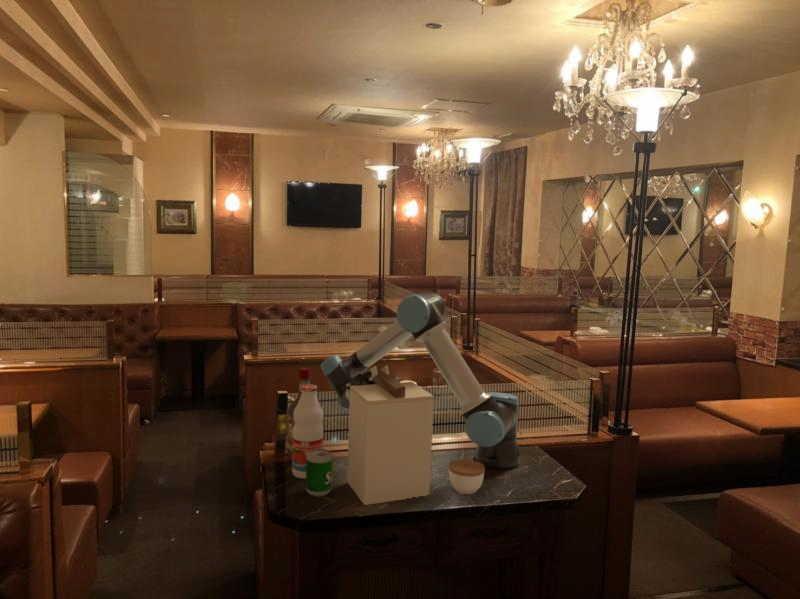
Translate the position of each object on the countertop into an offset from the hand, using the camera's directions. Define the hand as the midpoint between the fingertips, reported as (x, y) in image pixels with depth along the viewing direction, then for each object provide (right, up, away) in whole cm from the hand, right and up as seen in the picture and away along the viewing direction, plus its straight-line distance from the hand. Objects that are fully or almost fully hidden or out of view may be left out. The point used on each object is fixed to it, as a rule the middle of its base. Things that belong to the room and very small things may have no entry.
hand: (381, 370), depth 188 cm
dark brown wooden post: (+1, -5, -2) cm, 5 cm away
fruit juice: (-23, -33, +6) cm, 41 cm away
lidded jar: (+25, -36, -2) cm, 44 cm away
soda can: (-18, -35, -7) cm, 40 cm away
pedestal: (+2, -35, -3) cm, 35 cm away
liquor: (-27, -31, +19) cm, 46 cm away
